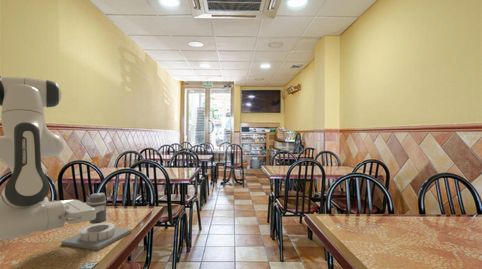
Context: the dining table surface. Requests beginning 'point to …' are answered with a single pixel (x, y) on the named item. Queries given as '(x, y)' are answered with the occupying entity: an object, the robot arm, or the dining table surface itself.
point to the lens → (96, 201)
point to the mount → (96, 236)
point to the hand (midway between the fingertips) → (100, 205)
